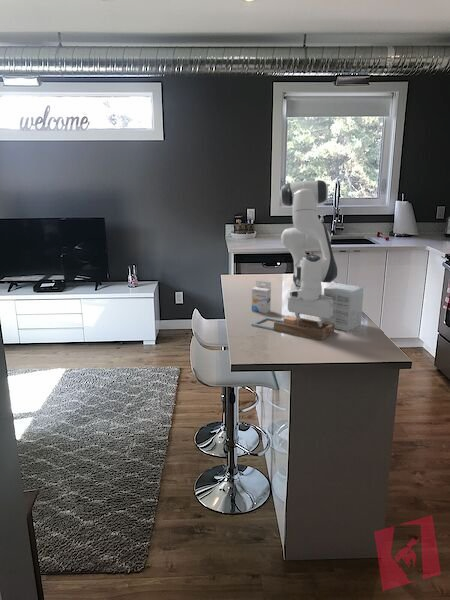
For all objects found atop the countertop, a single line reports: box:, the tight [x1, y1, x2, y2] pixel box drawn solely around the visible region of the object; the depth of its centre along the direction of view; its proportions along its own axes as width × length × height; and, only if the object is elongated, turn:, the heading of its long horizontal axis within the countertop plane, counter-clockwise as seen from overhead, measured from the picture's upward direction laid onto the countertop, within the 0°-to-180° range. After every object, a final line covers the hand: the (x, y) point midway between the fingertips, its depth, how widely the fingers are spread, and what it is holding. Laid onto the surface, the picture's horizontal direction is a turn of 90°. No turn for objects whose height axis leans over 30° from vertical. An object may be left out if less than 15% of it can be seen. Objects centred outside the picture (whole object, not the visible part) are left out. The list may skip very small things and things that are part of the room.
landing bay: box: [251, 316, 284, 331], centre depth 220 cm, size 13×12×1 cm
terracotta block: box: [283, 315, 300, 327], centre depth 213 cm, size 5×5×5 cm
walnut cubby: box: [273, 315, 335, 341], centre depth 210 cm, size 13×22×4 cm, turn 53°
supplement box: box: [323, 282, 364, 332], centre depth 216 cm, size 13×13×18 cm
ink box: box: [251, 280, 272, 314], centre depth 239 cm, size 8×5×15 cm, turn 60°
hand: (309, 324), depth 207 cm, fingers open, 8 cm apart
